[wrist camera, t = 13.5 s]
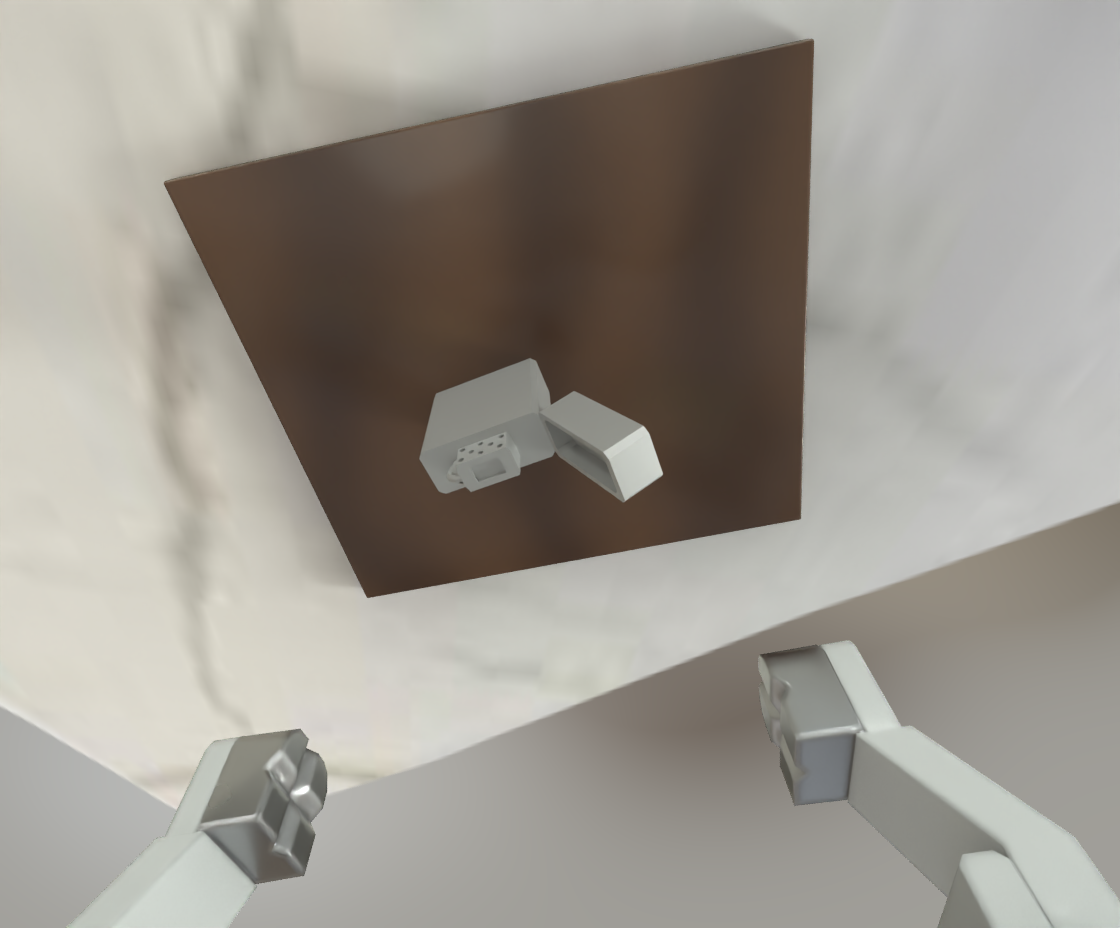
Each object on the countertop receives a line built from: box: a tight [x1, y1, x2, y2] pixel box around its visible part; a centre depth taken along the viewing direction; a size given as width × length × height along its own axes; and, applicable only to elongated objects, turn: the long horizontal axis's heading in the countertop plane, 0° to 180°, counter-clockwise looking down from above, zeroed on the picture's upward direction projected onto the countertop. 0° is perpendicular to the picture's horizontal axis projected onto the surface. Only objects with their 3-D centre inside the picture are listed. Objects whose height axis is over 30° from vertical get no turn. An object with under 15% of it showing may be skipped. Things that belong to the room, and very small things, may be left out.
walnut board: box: [164, 39, 814, 598], centre depth 24 cm, size 20×18×1 cm
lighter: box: [419, 358, 663, 502], centre depth 20 cm, size 7×2×8 cm, turn 111°
